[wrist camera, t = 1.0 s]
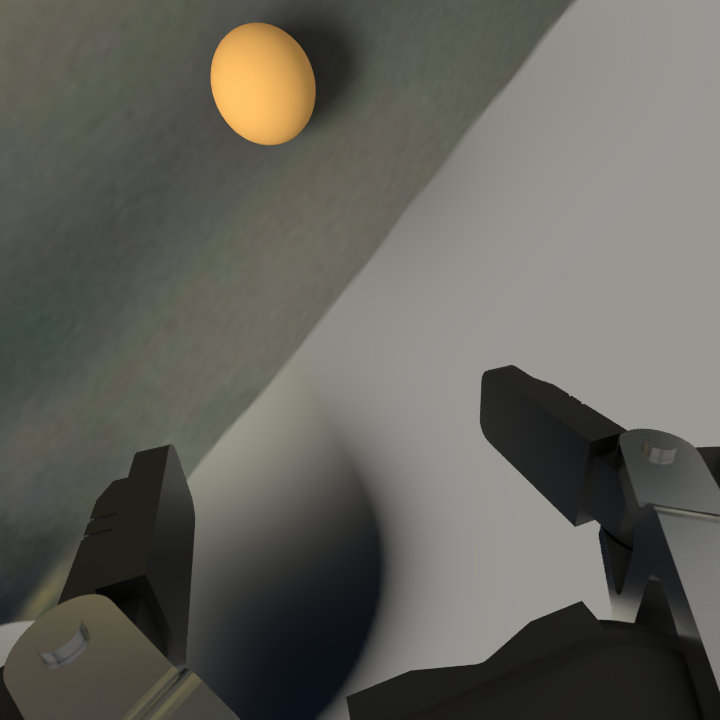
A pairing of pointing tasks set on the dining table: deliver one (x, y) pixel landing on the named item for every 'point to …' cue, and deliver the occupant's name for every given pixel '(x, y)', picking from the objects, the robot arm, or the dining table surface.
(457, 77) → the dining table surface
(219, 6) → the dining table surface
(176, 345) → the dining table surface
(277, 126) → the ball
